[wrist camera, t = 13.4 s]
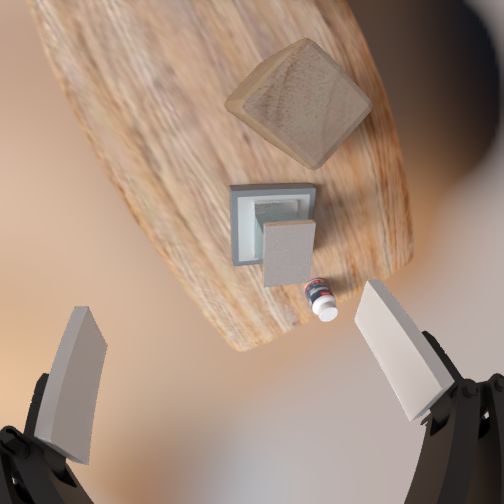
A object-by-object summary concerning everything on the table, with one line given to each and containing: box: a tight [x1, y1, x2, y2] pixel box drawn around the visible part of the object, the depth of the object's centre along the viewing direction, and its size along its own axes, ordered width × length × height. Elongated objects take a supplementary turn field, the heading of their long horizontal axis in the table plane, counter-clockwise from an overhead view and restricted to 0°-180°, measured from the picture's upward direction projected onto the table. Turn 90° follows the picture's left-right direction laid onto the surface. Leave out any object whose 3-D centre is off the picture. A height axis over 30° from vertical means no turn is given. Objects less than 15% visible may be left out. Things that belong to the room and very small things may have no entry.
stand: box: [229, 183, 316, 266], centre depth 47 cm, size 14×14×3 cm
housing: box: [253, 199, 316, 287], centre depth 42 cm, size 7×10×9 cm
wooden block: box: [225, 38, 373, 170], centre depth 29 cm, size 10×10×20 cm
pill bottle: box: [304, 279, 338, 322], centre depth 55 cm, size 5×5×9 cm
